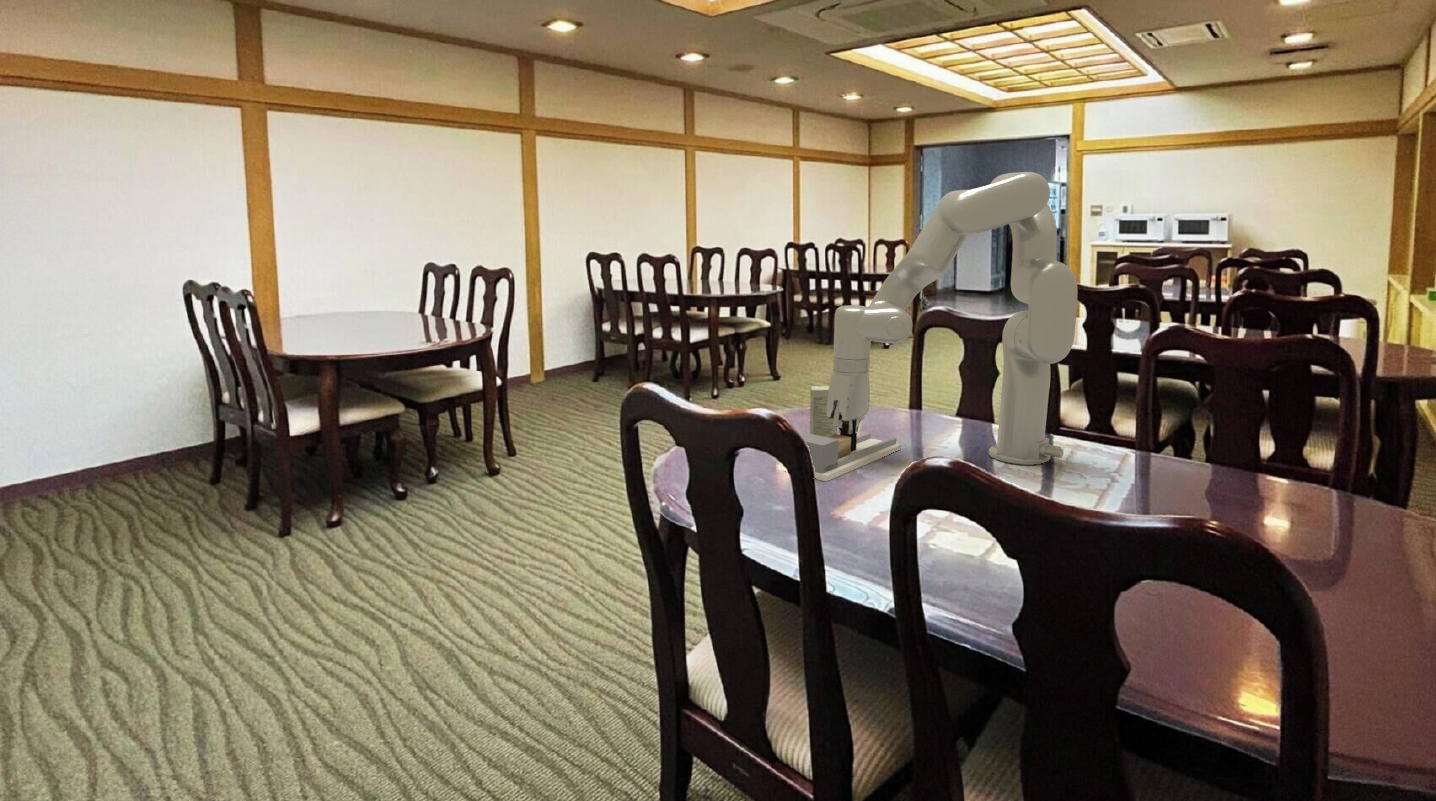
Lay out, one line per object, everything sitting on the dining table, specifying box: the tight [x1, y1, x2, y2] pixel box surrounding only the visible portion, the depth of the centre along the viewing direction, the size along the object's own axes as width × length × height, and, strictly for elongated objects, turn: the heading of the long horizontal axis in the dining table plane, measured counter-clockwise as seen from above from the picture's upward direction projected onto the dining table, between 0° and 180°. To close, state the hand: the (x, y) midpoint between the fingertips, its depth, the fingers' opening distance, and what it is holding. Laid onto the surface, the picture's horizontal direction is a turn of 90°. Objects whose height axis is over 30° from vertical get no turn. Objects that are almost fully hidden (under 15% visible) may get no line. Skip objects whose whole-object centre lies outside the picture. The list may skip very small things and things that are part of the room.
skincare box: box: [809, 385, 838, 437], centre depth 197 cm, size 6×4×12 cm
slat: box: [827, 433, 851, 459], centre depth 176 cm, size 4×12×4 cm, turn 139°
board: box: [802, 432, 902, 482], centre depth 181 cm, size 10×30×7 cm, turn 140°
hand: (847, 450), depth 182 cm, fingers closed
